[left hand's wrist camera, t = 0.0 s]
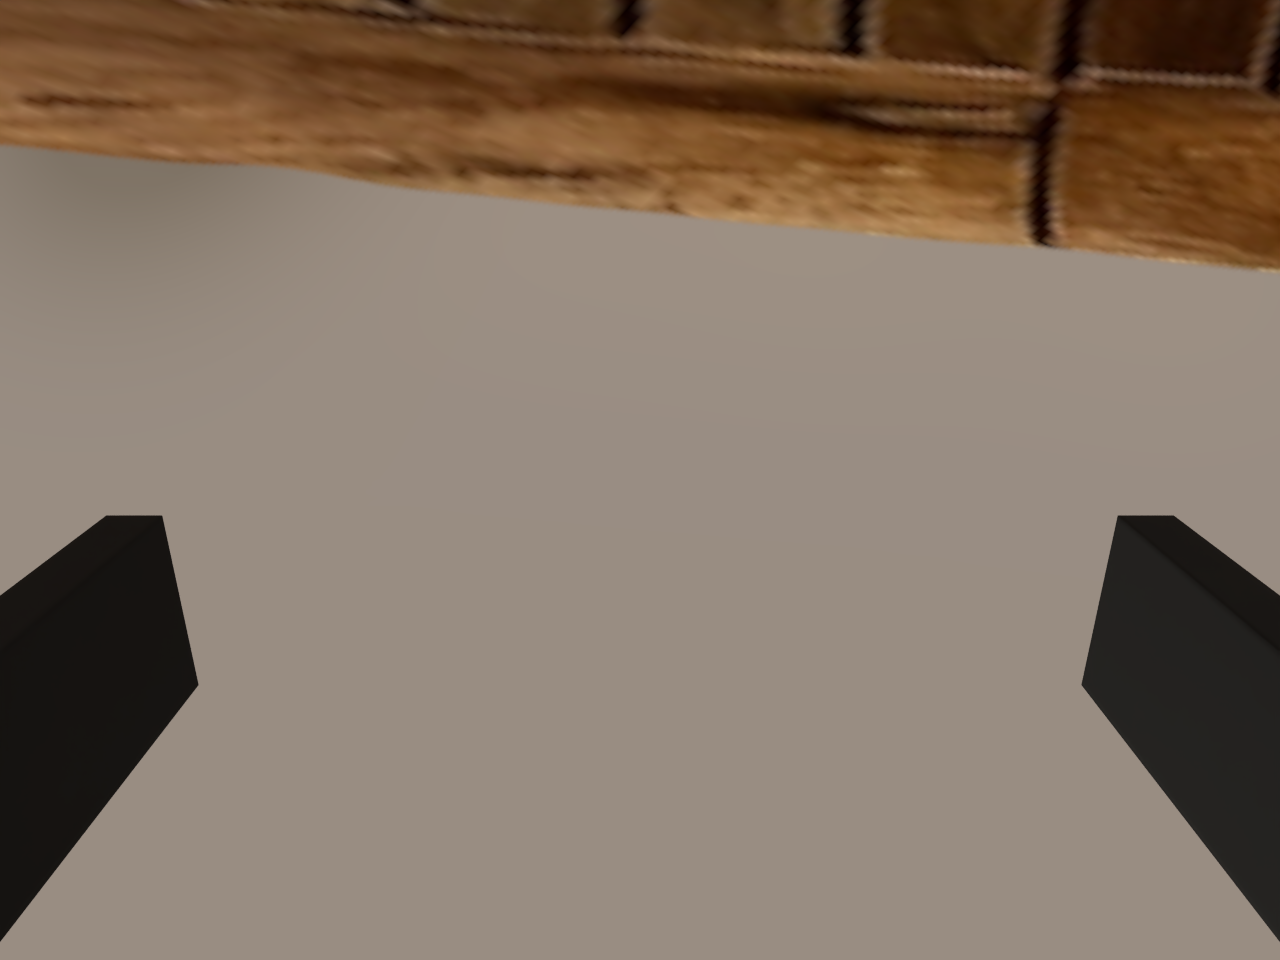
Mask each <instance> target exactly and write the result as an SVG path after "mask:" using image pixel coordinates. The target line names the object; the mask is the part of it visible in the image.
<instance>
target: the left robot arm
mask: <svg viewBox="0 0 1280 960" xmlns="http://www.w3.org/2000/svg"><path fill="white" fill-rule="evenodd" d="M197 686H198V680H197V676H196V671H195V666H194V662H193V657H192V652H191V648H190V643H189V638H188V634H187V629H186V624H185V620H184V615H183V610H182V606H181V601H180V597H179V592H178V587H177V583H176V578H175V573H174V568H173V564H172V559H171V555H170V550H169V545H168V541H167V536H166V531H165V527H164V522H163V517H162V516H105V517H104V518H103V519H101V520H100V521H99V522H97V523H96V524H95V525H93V526H92V527H91V528H89V529H88V530H87V531H85V532H84V533H83V534H81V535H80V536H79V537H77V538H76V539H75V540H73V541H72V542H71V543H69V544H68V545H67V546H65V547H64V548H63V549H61V550H60V551H59V552H57V553H56V554H55V555H53V556H52V557H51V558H50V559H48V560H47V561H45V562H44V563H43V564H41V565H40V566H39V567H38V568H36V569H35V570H34V571H32V572H31V573H30V574H28V575H27V576H26V577H24V578H23V579H22V580H20V581H19V582H18V583H16V584H15V585H14V586H12V587H11V588H10V589H8V590H7V591H6V592H4V593H3V594H2V595H0V941H1V940H2V939H3V937H4V936H5V935H6V933H7V932H8V931H9V930H10V928H11V927H12V926H13V924H14V923H15V922H16V921H17V919H18V918H19V917H20V915H21V914H22V913H23V911H24V910H25V909H26V908H27V906H28V905H29V904H30V902H31V901H32V900H33V899H34V897H35V896H36V895H37V893H38V892H39V891H40V890H41V888H42V887H43V886H44V884H45V883H46V882H47V880H48V879H49V878H50V877H51V875H52V874H53V873H54V871H55V870H56V869H57V868H58V866H59V865H60V864H61V862H62V861H63V860H64V858H65V857H66V856H67V854H68V853H69V852H70V851H71V849H72V848H73V847H74V845H75V844H76V843H77V842H78V840H79V839H80V838H81V836H82V835H83V834H84V833H85V831H86V830H87V829H88V827H89V826H90V825H91V823H92V822H93V821H94V820H95V818H96V817H97V816H98V814H99V813H100V812H101V811H102V809H103V808H104V807H105V805H106V804H107V803H108V801H109V800H110V799H111V797H112V796H113V795H114V794H115V792H116V791H117V790H118V789H119V787H120V786H121V785H122V783H123V782H124V781H125V779H126V778H127V777H128V776H129V774H130V773H131V772H132V770H133V769H134V768H135V766H136V765H137V764H138V763H139V761H140V760H141V759H142V757H143V756H144V755H145V754H146V752H147V751H148V750H149V748H150V747H151V746H152V744H153V743H154V742H155V741H156V739H157V738H158V737H159V735H160V734H161V733H162V732H163V730H164V729H165V728H166V726H167V725H168V724H169V722H170V721H171V720H172V719H173V717H174V716H175V715H176V713H177V712H178V711H179V710H180V708H181V707H182V706H183V704H184V703H185V702H186V700H187V699H188V698H189V697H190V695H191V694H192V693H193V691H194V690H195V689H196V688H197ZM1082 686H1083V688H1084V689H1085V690H1086V691H1087V693H1088V694H1089V695H1090V697H1091V698H1092V699H1093V700H1094V702H1095V703H1096V704H1097V706H1098V707H1099V708H1100V710H1101V711H1102V712H1103V713H1104V715H1105V716H1106V717H1107V719H1108V720H1109V721H1110V722H1111V724H1112V725H1113V726H1114V728H1115V729H1116V730H1117V732H1118V733H1119V734H1120V735H1121V737H1122V738H1123V739H1124V741H1125V742H1126V743H1127V744H1128V746H1129V747H1130V748H1131V750H1132V751H1133V752H1134V754H1135V755H1136V756H1137V757H1138V759H1139V760H1140V761H1141V763H1142V764H1143V765H1144V766H1145V768H1146V769H1147V770H1148V772H1149V773H1150V774H1151V776H1152V777H1153V778H1154V779H1155V781H1156V782H1157V783H1158V785H1159V786H1160V787H1161V789H1162V790H1163V791H1164V792H1165V794H1166V795H1167V796H1168V798H1169V799H1170V800H1171V801H1172V803H1173V804H1174V805H1175V807H1176V808H1177V809H1178V811H1179V812H1180V813H1181V814H1182V816H1183V817H1184V818H1185V820H1186V821H1187V822H1188V823H1189V825H1190V826H1191V827H1192V829H1193V830H1194V831H1195V833H1196V834H1197V835H1198V836H1199V838H1200V839H1201V840H1202V842H1203V843H1204V844H1205V845H1206V847H1207V848H1208V849H1209V851H1210V852H1211V853H1212V855H1213V856H1214V857H1215V858H1216V860H1217V861H1218V862H1219V864H1220V865H1221V866H1222V867H1223V869H1224V870H1225V871H1226V873H1227V874H1228V875H1229V876H1230V878H1231V879H1232V880H1233V882H1234V883H1235V884H1236V886H1237V887H1238V888H1239V889H1240V891H1241V892H1242V893H1243V895H1244V896H1245V897H1246V899H1247V900H1248V901H1249V902H1250V904H1251V905H1252V906H1253V908H1254V909H1255V910H1256V912H1257V913H1258V914H1259V915H1260V917H1261V918H1262V919H1263V921H1264V922H1265V923H1266V924H1267V926H1268V927H1269V928H1270V930H1271V931H1272V932H1273V933H1274V935H1275V936H1276V937H1277V939H1278V940H1279V941H1280V595H1278V594H1277V593H1276V592H1274V591H1273V590H1272V589H1270V588H1269V587H1268V586H1266V585H1265V584H1264V583H1262V582H1261V581H1260V580H1258V579H1257V578H1256V577H1254V576H1253V575H1252V574H1250V573H1249V572H1248V571H1246V570H1245V569H1244V568H1242V567H1241V566H1240V565H1238V564H1237V563H1236V562H1235V561H1233V560H1232V559H1230V558H1229V557H1228V556H1227V555H1225V554H1224V553H1222V552H1221V551H1220V550H1219V549H1217V548H1216V547H1215V546H1213V545H1212V544H1211V543H1209V542H1208V541H1207V540H1205V539H1204V538H1203V537H1201V536H1200V535H1199V534H1197V533H1196V532H1195V531H1193V530H1192V529H1191V528H1189V527H1188V526H1187V525H1185V524H1184V523H1183V522H1181V521H1180V520H1179V519H1177V518H1176V517H1175V516H1118V517H1117V522H1116V527H1115V531H1114V536H1113V541H1112V545H1111V550H1110V555H1109V559H1108V564H1107V568H1106V573H1105V578H1104V582H1103V587H1102V592H1101V597H1100V601H1099V606H1098V610H1097V615H1096V620H1095V625H1094V629H1093V634H1092V638H1091V643H1090V648H1089V652H1088V657H1087V662H1086V667H1085V671H1084V676H1083V680H1082Z"/></svg>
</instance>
